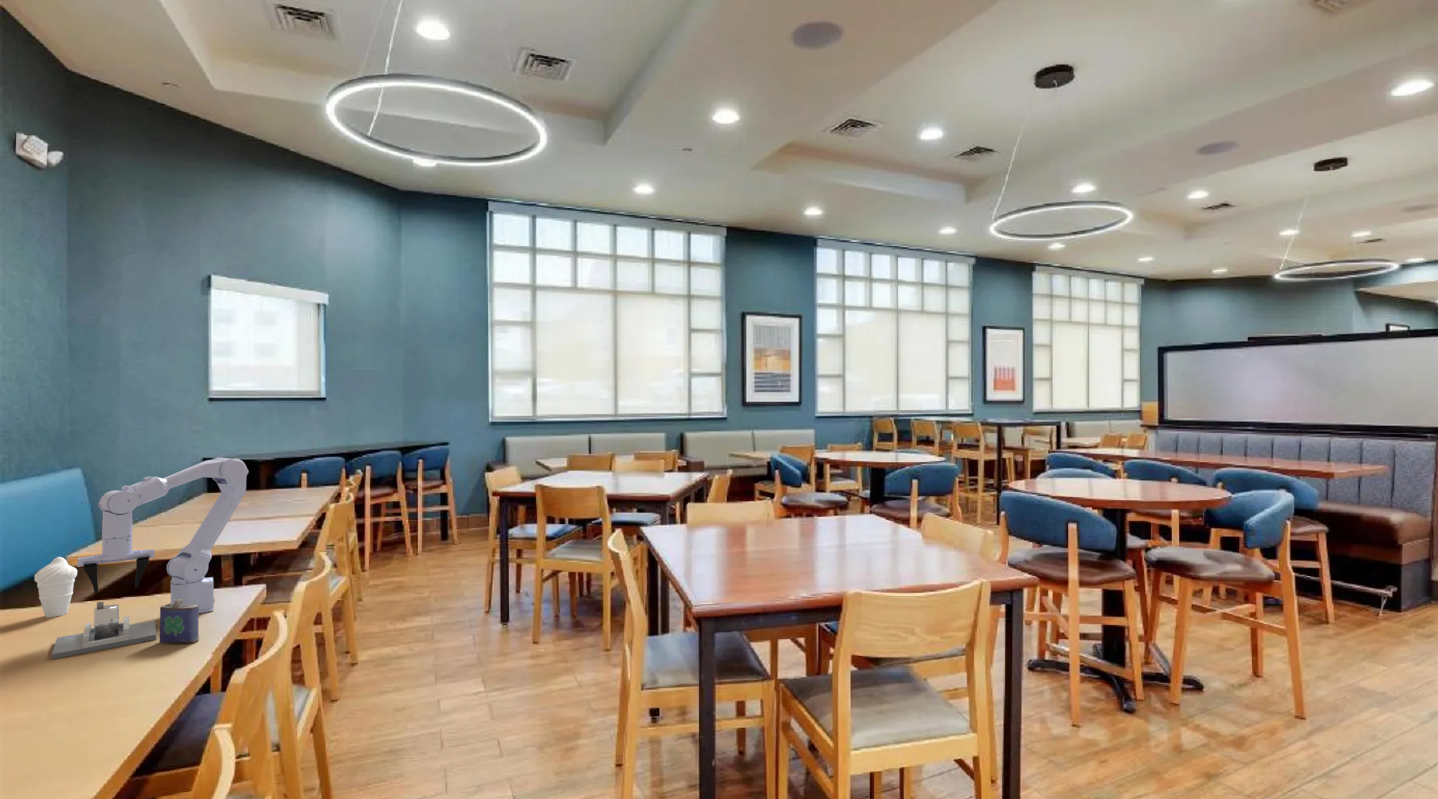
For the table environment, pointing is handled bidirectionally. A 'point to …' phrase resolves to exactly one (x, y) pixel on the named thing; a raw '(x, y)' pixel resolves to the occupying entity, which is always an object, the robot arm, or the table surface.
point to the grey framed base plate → (89, 643)
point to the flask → (179, 623)
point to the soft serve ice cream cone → (56, 587)
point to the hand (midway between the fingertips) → (117, 589)
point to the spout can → (106, 621)
